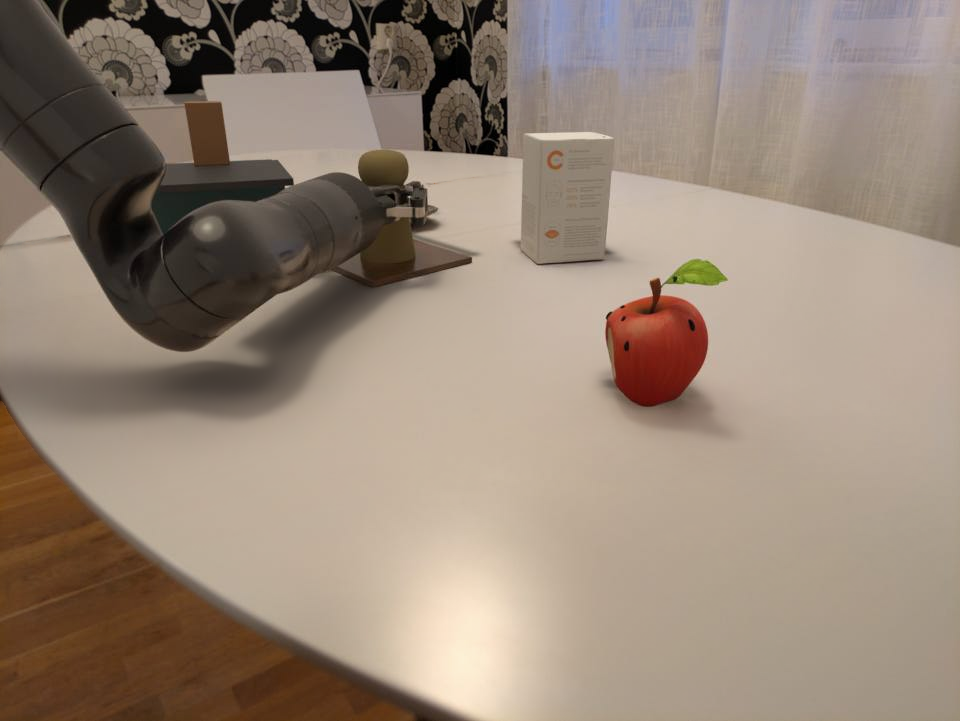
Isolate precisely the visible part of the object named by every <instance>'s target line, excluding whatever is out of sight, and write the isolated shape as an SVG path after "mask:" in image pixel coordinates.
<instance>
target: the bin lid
mask: <svg viewBox="0 0 960 721" xmlns="http://www.w3.org/2000/svg"><path fill="white" fill-rule="evenodd" d="M184 110H185V116H186V123H187V128H188V135H189V141H190V146H191V153H192V159H193V162H191V163H192V164H173V163H168V164H169V165H166V172H165V176H164V178H163V180H162V183H161V185H160V187H159V189H158V191H157V193H170V192H188V191H205V190H223V189H241V188H258V187H276V186H285V187H290V186H292V185H295V182H294V177H292V175H291V174H290V172H289V171H288V169H286V168H285V167H284V166H283V164H282V163H281V162H280V161H279V159H272V160H267V159H260V160H261V161H243V160H237V161H238V162H230V161H231V160H230V153H229V144H228V137H227V130H226V124H225V118H224V111H223V110H224V109H223V104H222V101H221V100H206V101H205V100H204V101H203V100H202V101H201V100H195V101H193V100H192V101H184Z"/></svg>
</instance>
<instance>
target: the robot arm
mask: <svg viewBox="0 0 960 721" xmlns="http://www.w3.org/2000/svg"><path fill="white" fill-rule="evenodd" d="M0 152H1V153H2V154H3V155H4V157H5V158H6V159H7V160H8V161H9V162H10V163H11V164H12V165H13V166H14V167H15V168H16V169H17V171H18V172H19V173H20V174H22V175H23V177H24V178H25V179H26V180H27V181H28V182H29V183H30V184H31V185H32V186H33V188H35V189H36V191H38V192H39V193H40V194H41V195H42V197H43V198H45V200H46V201H47V202H48V203H49V204H51V206H52V207H53V208H54V209H55V210H56V211H57V213H58V214H59V215H60V217H61V219H62V221H63V222H64V224H65V225H66V228H67V229H68V231H69V234H70V235H71V237H72V239H73V241H74V243H75V246H76V247H77V248H78V250H79V252H80V254H81V255H82V257H83V259H84V260H85V262H86V264H87V265H88V267H89V269H90V271H91V272H92V274H93V276H94V278H95V279H96V281H97V283H98V285H99V286H100V288H101V290H102V291H103V294H104V295H105V296H106V298H107V300H108V302H109V303H110V305H111V306H112V308H113V309H114V310H115V312H116V313H117V314H118V316H120V318H121V319H122V320H123V322H124V323H125V324H126V325H127V326H128V327H129V328H130V329H132V331H134V332H135V333H136V334H138V335H139V336H140V337H142V338H143V339H145V341H148V342H149V343H152V344H153V345H155V346H157V347H160V348H162V349H165V350H168V351H172V352H177V353H190V352H195V351H198V350H200V349H202V348H205V347H207V346H208V345H210V344H212V343H213V342H214V341H216V340H217V339H218V338H219V337H221V336H222V335H223V334H225V333H226V332H227V331H229V330H230V329H232V328H233V327H234V326H236V325H237V324H238V323H239V322H242V321H243V320H244V319H245V318H246V317H248V316H249V315H251V314H252V313H253V312H256V310H258V309H259V308H260V307H262V306H263V305H264V304H266V303H267V302H269V301H271V299H273V298H274V297H276V296H277V295H280V294H284V293H288V292H290V291H292V290H294V289H297V288H298V287H300V286H302V285H304V284H305V283H306V282H308V281H310V280H312V279H314V278H315V277H317V276H319V275H322V274H325V273H328V272H330V271H333V270H332V269H334V268H336V267H337V266H339V265H341V264H342V263H344V262H346V261H347V260H349V259H351V258H352V257H354V256H355V255H357V254H359V253H360V252H362V251H364V250H365V249H367V248H368V247H369V246H370V245H371V244H372V243H373V241H374V240H375V238H376V237H377V235H378V233H379V231H380V229H381V227H382V225H385V224H390V223H393V222H394V221H398V220H399V219H400V218H401V217H408V222H411V224H410V225H411V226H415V227H421V226H424V225H425V223H426V220H427V217H428V216H427V214H428V205H429V202H428V201H429V196H428V188H426V187H424V185H421V181H418V180H413V181H410V182H408V183H406V184H404V186H401V187H399V186H396V185H389V184H387V185H382V186H378V187H373V186H367V185H366V184H365V183H364V182H363V181H362V180H361V179H359V178H358V177H356V176H354V175H352V174H350V173H346V172H339V171H335V172H329V173H325V174H323V175H319V176H317V177H314V178H310V179H307V180H305V181H301V182H299V183H296V184H295V183H294V185H292V186H287V187H285V189H284V190H282V191H280V192H279V193H277V194H276V195H273V196H270V197H267V198H265V199H262V200H259V201H256V202H253V201H239V200H220V201H216V202H212V203H209V204H207V205H204V206H202V207H200V208H198V209H196V210H194V211H192V212H190V213H189V214H187V215H186V216H184V217H183V218H182V219H180V220H179V221H178V222H177V223H176V224H175V225H173V226H172V227H171V228H170V229H169V230H168V231H167V232H166V233H165V234H163V232H162V230H161V228H160V226H159V223H158V221H157V219H156V217H155V214H154V212H153V200H154V197H155V195H156V193H157V191H158V189H159V187H160V185H161V183H162V180H163V178H164V176H165V172H166V164H167V162H166V159H165V157H164V155H163V153H162V151H161V150H160V148H158V146H157V145H156V143H155V142H154V141H153V139H152V138H151V137H150V136H149V134H148V133H147V132H146V131H145V130H144V129H143V128H142V127H141V125H140V124H139V123H138V122H137V120H135V118H134V117H133V116H132V115H131V114H130V112H129V111H128V110H127V109H126V107H125V106H123V104H122V103H121V101H119V99H117V97H116V96H115V95H114V94H113V92H112V91H111V90H110V88H108V87H107V85H106V84H105V83H104V82H103V81H102V80H101V79H100V77H99V76H98V75H97V74H96V73H95V71H93V69H92V68H91V67H90V66H89V65H88V63H87V62H86V61H85V60H84V59H83V58H82V57H81V55H80V54H79V53H78V52H77V51H76V49H75V47H74V46H73V45H72V44H71V43H70V41H68V39H67V37H66V36H64V35H63V33H62V31H61V30H60V28H58V26H57V25H56V22H54V21H53V19H52V18H51V16H50V15H49V14H48V13H47V12H46V10H45V9H44V7H43V5H41V3H40V2H39V0H0ZM400 196H401V205H400Z"/></svg>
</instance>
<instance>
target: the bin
mask: <svg viewBox="0 0 960 721" xmlns="http://www.w3.org/2000/svg"><path fill="white" fill-rule="evenodd" d="M261 160H262V159H245V160H243V159H242V161H261ZM266 160H273V159H271V158H268V159H266ZM238 161H239V160H230V162H238ZM192 163H193V162H173V163H172V164H192ZM169 164H170V163H166V165H169ZM285 188H286V186H276V187H258V188H241V189H223V190H205V191H188V192H170V193H156V195H155V197H154V200H153V212H154V214H155V217H156V219H157V221H158V223H159V226H160V228H161V230H162V232H163V234H165V233H166V232H167V231H168V230H169V229H170V228H171V227H172V226H173V225H175V224H176V223H177V222H178V221H179V220H180V219H182V218H183V217H184V216H186V215H187V214H189V213H190V212H192V211H194V210H196V209H198V208H200V207H202V206H204V205H207V204H209V203H212V202H216V201H220V200H239V201H253V202H256V201H259V200H262V199H265V198H267V197H270V196H273V195H276V194H277V193H279V192H280V191H282V190H284V189H285Z"/></svg>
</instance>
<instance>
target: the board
mask: <svg viewBox="0 0 960 721" xmlns="http://www.w3.org/2000/svg"><path fill="white" fill-rule="evenodd" d="M413 243H414V249H415V255H416V256H415V257H414V258H413V259H411V260H409V261H405V262H400V263H387V264H382V263H372V262H367V261H364V260H362V259H361V258H360V253H359V254H357V255H355V256H354V257H352V258H351V259H349V260H347V261H346V262H344V263H342V264H341V265H339V266H337V267H336V268H334V269H332V270H331V271H334V272H336V273H338V274H341V275H343V276H346V277H347V278H351V279H352V280H355V281H357V282H359V283H360V282H361V283H363V284H365V285H367V286H370V287H372V288H376V287H378V286H383V285H387V284H392V283H395V282H399V281H403V280H407V279H411V278H415V277H419V276H423V275H427V274H430V273H435V272H439V271H442V270H446V269H450V268H455V267H458V266H463V265H466V264H470V263H473V256H469V255H466V254H463V253H460V252H456V251H453V250H450V249H447V248H445V247H441V246H437V245H434V244H431V243H428V242H425V241H423V240H418V239H416V238H413Z"/></svg>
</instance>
